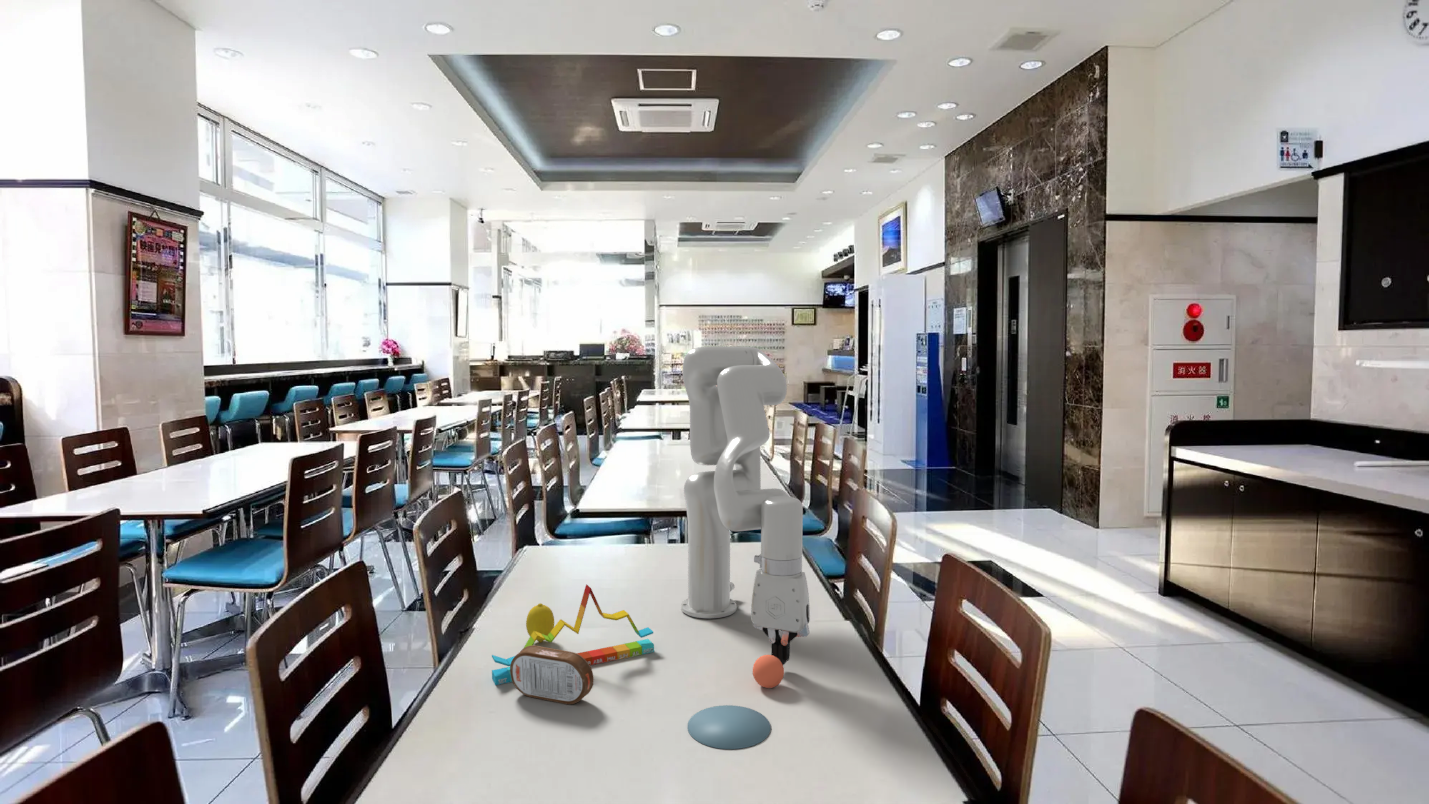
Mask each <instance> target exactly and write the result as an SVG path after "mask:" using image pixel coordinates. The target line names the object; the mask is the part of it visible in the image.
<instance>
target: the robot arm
mask: <svg viewBox="0 0 1429 804" xmlns="http://www.w3.org/2000/svg"><path fill="white" fill-rule="evenodd" d="M682 380H683V385H684V388H685V391H686V395H687V398H688V403H689V445H690V446H689V447H690V448H689V449H690V455H691V459H692V460H693V462H694V463H695V464H697V465H700V466H715V470H712V471H711V470H710V471H709V470H707V471H701V472H696V473H694V474H692V475H690V476H689V477H687V479H685V480H686V481H685V482H684V486H683V494H684V495H683V496H684V502H685V508H686V516H687V535H688V536H687V541H688V542H687V549H688V550H687V556H688V557H687V598H686V599H684V600H683V601H682V602H681V605H680V606H681V607H680V608H681V611H682V613H684V614H686V615H687V616H690V617H693V618H698V619H707V620H708V619H719V618H720V619H721V618H726V617H729V616H731V615H733V614H734V613H736V611H737V602H735V600H733V599H732V598H731V592H732V591H733V590H734V589H735V584H734V583H733V582H731V534H730V532H731V531H732V532H744V531H746V532H747V531H754V530H760V554H758V555H757V554H756V555H754V557H753V562H754V563H757V564H758V565H759V569H757V570H756V571H755V576H754V580H753V581H754V582H753V588H752V594H751V595H752V596H751V605H750V606H751V608H750V619H751V620H750V621H751V622H752V627H753V628H754V629H757V630H759V631H762V632H763V633H764V634H765V635H766V637H767V638H768V642H769V643H771V654H770V655H773V656H775V657H777V658H778V659H779V660H780V661H781V663H782V665H783V666H784V665H785V664H786V663H787V662H788V661H789V660H790V657H791V651H790V650H791V649H790V648H791V647H790V646H791V645H790V644H791V642H792V641H793V640H794V639H795V638H806V637H807V636H808V635H810V627H809V623H810V620H811V619H810V617H811V615H810V614H811V613H810V612H811V607H810V593H809V587H808V580H807V576H806V572H804V571H803V526H804V525H803V522H804V521H803V519H804V517H803V516H804V510H803V507H804V506H803V503H802V502H801V500H800V499H798V498H796V497H793V496H790V495H789V494H788V493H787V492H786V491H785V490H783V489H780V488H761V480H762V479H761V477H762V476H761V475H762V474H761V446H763V445H764V444H766V443H767V442H768V441H769V439H770V436H771V435H770V434H771V433H770V428H769V425H768V421H767V415H766V412H765V411H766V410H765V406H777V405H781V404H782V403H783V402H784V401H785V399H786V396H787V390H788V385H787V380H786V376H785V375H784V372H783V371H782V369H781V368H780V366H779V365H778V364H777V363H776V362H775V361H774V359H771V357H770V356H768V355H767V354H766V353H765V352H764V351H762V350H761V349H759V347H753V346H729V345H728V346H727V345H725V346H723V345H720V346H719V345H718V346H716V345H712V346H711V345H709V346H699V347H696V348H692V349H690V350H689V351H688V352H687V353H686V354H685V356H684V358H683V362H682ZM734 466H735V469H734ZM781 631H782V633H781Z"/></svg>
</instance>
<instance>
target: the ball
mask: <svg viewBox="0 0 1429 804" xmlns="http://www.w3.org/2000/svg"><path fill="white" fill-rule="evenodd" d="M784 675H785V667H784V665H782V663H781V661H780V660H779V659H778V658H777V657H775V656H773V655H771V654H764V655H761V656H759V657H758V658H757V659H756V660H755V662H754V663H753V666H752V676H753V679H754V680H755V682H756V683H757V685H759V686H761V687H763V688H767V689H772V688H775V687H776V686H779V685H780V684H781V682H782V681H783V679H784Z"/></svg>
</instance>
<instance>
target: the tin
mask: <svg viewBox="0 0 1429 804" xmlns="http://www.w3.org/2000/svg"><path fill="white" fill-rule="evenodd" d="M577 653H578V652H577ZM577 653H576V652H574V651H568V650H562V649H557V648H550V647H545V646H540V645H535V644H533V645H532V646H527V647H525V648H524V647H523V648H522V649H521V650H520V651H519V652H518V653H517V654H516V655H514V656H515V657H514V658H513V660H512V661H511V665H510V666H509V667H510V674H511V679H512V682H511V683H512V684H513V686H514V687H515V688H516V690H517V691H518V692H520V693H521V694H522V695H524V696H526V697H529V698H534V699H539V700H544V701H547V702H548V701H550V702H553V703H557V704H558V703H559V704H564V705H574V704H577V703H578V702H580V701H581V700H582V699H584V697H586V696H587V695H589V694H590V692H591V691H592V689H593V687H594V680H595V679H594V673H593V670H592V667H591V665H589V664H588V662H587V661H586V660H585V659H584V658H583V657H582V656H580V655H579V654H577Z"/></svg>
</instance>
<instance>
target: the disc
mask: <svg viewBox="0 0 1429 804" xmlns="http://www.w3.org/2000/svg"><path fill="white" fill-rule="evenodd" d="M687 731H688V733H689V735H690V736H691V737H692V738H693V739H694V740H695V741H697V742H698V743H700V744H701V745H705V746H707V747H711V748H715V749H720V750H738V749H739V750H740V749H745V748H746V749H747V748H750V747H753V746H755V745H758V744H760V743H761V742H763V741H765V740H766V739H767V738H768V736H769V735H770V733H771V724H770V721H769V719H768V718H767V717H766V716H765V715H764V714H762V713H761V712H759V711H757V710H755V709H752V708H749V707H746V706H740V705H733V704H732V705H730V704H729V705H727V704H726V705H725V704H724V705H715V706H711V707H706V708H704V709H701V710H700V711H698V712H696V713H694V714H693V715H692V716H691V717H690V718H689V720H688V722H687Z"/></svg>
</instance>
